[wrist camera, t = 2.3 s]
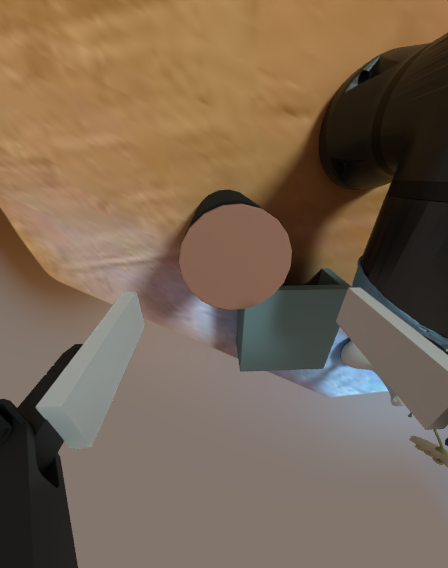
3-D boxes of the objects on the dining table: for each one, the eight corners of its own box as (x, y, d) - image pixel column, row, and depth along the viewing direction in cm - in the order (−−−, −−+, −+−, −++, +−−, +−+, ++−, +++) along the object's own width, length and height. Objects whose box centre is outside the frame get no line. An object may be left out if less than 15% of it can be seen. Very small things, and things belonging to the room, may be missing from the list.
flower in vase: (329, 347, 51) (416, 477, 29) (371, 322, 47) (506, 450, 25) (352, 369, 55) (442, 494, 34) (392, 347, 52) (521, 473, 30)
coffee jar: (182, 212, 33) (153, 247, 17) (237, 174, 30) (262, 175, 15) (216, 262, 37) (218, 325, 22) (266, 232, 35) (308, 279, 19)
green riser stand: (240, 269, 38) (246, 290, 31) (329, 268, 39) (354, 289, 32) (236, 342, 48) (240, 371, 41) (307, 341, 49) (323, 368, 42)
